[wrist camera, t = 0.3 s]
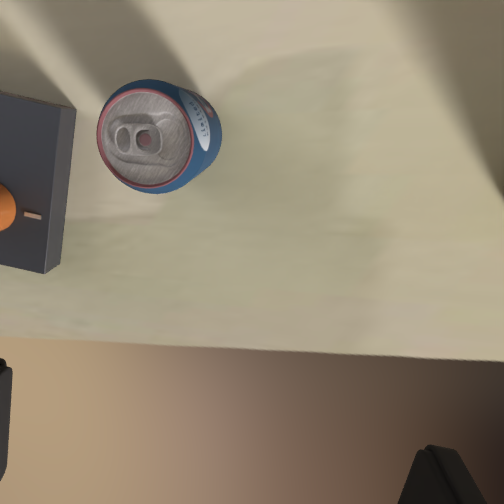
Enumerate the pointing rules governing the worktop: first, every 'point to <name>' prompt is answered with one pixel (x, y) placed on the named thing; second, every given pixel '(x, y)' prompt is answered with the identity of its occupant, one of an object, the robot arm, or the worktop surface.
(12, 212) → the knob
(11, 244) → the cooker panel
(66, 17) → the worktop surface
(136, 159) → the soda can
